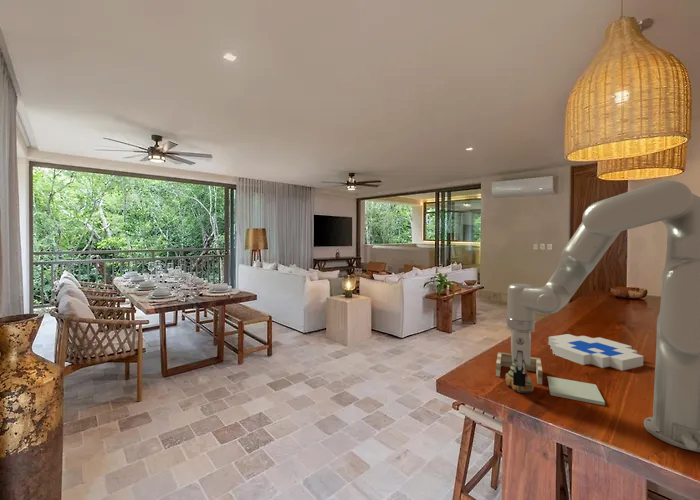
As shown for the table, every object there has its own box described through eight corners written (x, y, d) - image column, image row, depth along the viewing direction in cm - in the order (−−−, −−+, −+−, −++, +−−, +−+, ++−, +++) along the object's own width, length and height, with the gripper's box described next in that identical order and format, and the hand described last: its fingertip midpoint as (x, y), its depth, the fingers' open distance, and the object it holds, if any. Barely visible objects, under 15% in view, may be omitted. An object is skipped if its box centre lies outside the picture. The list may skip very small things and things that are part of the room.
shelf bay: (541, 384, 103) (542, 370, 103) (495, 376, 110) (496, 363, 109) (539, 371, 114) (540, 358, 114) (497, 363, 120) (498, 351, 120)
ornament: (537, 393, 98) (538, 360, 97) (519, 395, 96) (520, 362, 96) (518, 381, 105) (519, 351, 105) (502, 383, 104) (502, 352, 104)
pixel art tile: (656, 353, 121) (607, 363, 111) (656, 363, 121) (607, 375, 112) (580, 331, 147) (535, 338, 137) (580, 340, 148) (534, 348, 138)
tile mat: (604, 405, 91) (604, 402, 91) (550, 395, 97) (550, 391, 97) (595, 387, 101) (595, 384, 101) (547, 379, 107) (547, 376, 107)
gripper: (535, 333, 91) (534, 394, 91) (533, 319, 106) (532, 371, 107) (505, 329, 94) (504, 388, 95) (508, 316, 109) (507, 367, 110)
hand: (519, 379), depth 101 cm, fingers closed on ornament, 8 cm apart
